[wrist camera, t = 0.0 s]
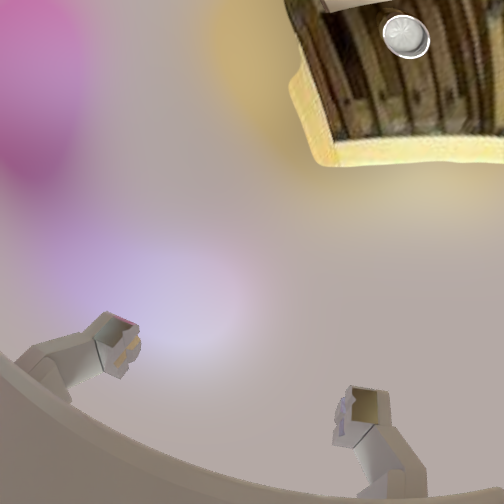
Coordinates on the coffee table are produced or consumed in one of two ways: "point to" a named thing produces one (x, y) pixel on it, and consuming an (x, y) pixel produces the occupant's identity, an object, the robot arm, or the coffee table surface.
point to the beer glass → (402, 33)
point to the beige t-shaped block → (347, 4)
